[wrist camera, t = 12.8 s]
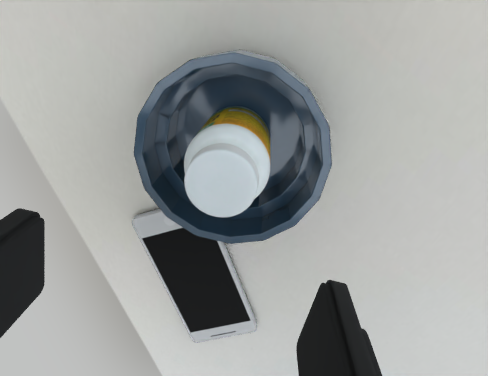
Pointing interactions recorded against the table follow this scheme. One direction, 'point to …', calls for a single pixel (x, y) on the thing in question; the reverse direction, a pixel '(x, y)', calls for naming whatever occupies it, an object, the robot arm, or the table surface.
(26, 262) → the robot arm
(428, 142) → the table surface
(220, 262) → the smartphone
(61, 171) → the table surface
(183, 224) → the bowl
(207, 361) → the table surface
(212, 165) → the supplement bottle
